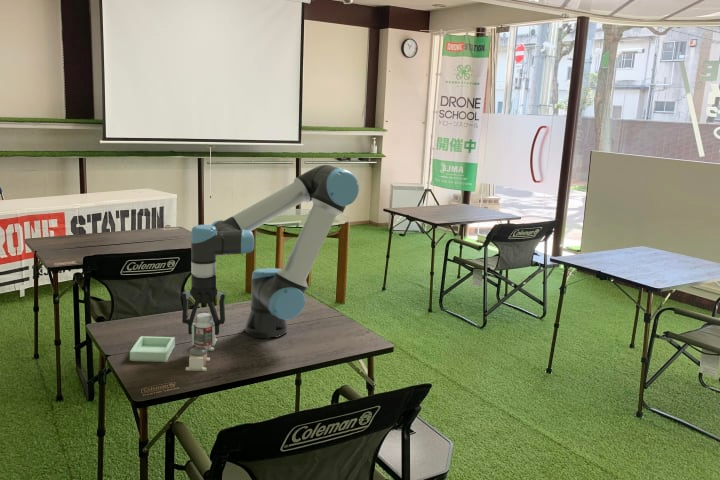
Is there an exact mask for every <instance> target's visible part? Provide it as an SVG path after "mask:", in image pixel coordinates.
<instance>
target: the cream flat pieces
mask: <svg viewBox="0 0 720 480" xmlns="http://www.w3.org/2000/svg"><path fill="white" fill-rule="evenodd" d="M217 342H218V339H217V338H216V343H217ZM204 348H206V349H207V352H208V351H209V352H210V351H211V352H212V351H213V352H214V350H215V347H214V346H213V347H211V346H210V347H204ZM188 359H189V360H188V366H186V367H185V371H195V372H197V371H198V372H207V366H205V367H203V357H190V356H189V358H188ZM210 361H211V357H207V361H206V362H210Z"/></svg>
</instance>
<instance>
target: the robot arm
mask: <svg viewBox="0 0 720 480" xmlns="http://www.w3.org/2000/svg"><path fill="white" fill-rule="evenodd" d="M359 186H360V185H359V182H358V179H357V178H356V176H355V174H354V173H352V172H351V171H349V170H347V169H344V168H343V167H342V168H341V167H337V166H333V165H329V164H324V165H318V166H316V167H314V168H312V169H310V170H307V171H306V172H304V173H302V174H301V175H298V176H297V177H295V178H294V180H293V182H292V183H290V184H288V185H286V186H284V187H282V188H281V189H279V190H278V191H275V192H274V193H272V194H270V195H269V196H266V197H265V198H262V199H261V200H259V201H257V202H256V203H254V204H252V205H251V206H249V207H247V208H244V210H242V211H239V212H238V213H236V214H234V215H233V216H230V217H228V218H226V219H224V220H221V219H219V220H215V221H214V222H213V223H211V224H197V225H194V226H193V227H192V229H191V235H190V247H191V248H190V250H191V251H190V252H191V262H190V265H191V268H190V270H191V271H190V272H191V274H192V275H191V277H190V278H191V281H190V283H191V288H190V289H189V290H188V291H183V292H182V293H181V299H182V316H181V317H182V320H181V322H182V324H187V327H188V328H187V329H188V330H187V331H188V335H191V346H196V345H195V323H196V322H194V319H195V317H196V314H197V310H198V309H199V308H198V307H199V304H205V305H207V306H208V307H209V311H210V314H211V316H212V320H213V321H212V322H213V326H212V345H214V346H216V343H217V342H216V339H217V336H218V335H219V333H220V325H223V324H225V322H226V311H225V310H226V309H225V298H226V295H227V294H226V292H220V291H218V289H217V275H216V273H217V256H226V255H227V256H228V255H243V254H244V255H246V254H249V253H252V252H253V251H254V248H255V237H254V234H253V232H252V231H253V230H255V229H257V228H259V227H262V226H263V225H264V224H266V223H268V222H269V221H271V220H273V219H276V218H277V217H279V216H281V215H282V214H285V212H287V211H289V210H291V209H293V208H295V207H297V206H298V205H300V204H302V203H303V202H306V203H309V202H312V207H311V209H310V210H309V213H308V215H307V217H306V220H305V222H304V224H303V225H302V227H301V230H300V231H299V232H300V233H299V234H298V236H297V238H296V240H295V243H294V245H293V246H292V249H291V251H290V253H289V255H288V257H287V259H286V261H285V264H284V266H283V267H282V268H278V267H277V268H275V267H273V268H272V267H271V268H269V267H267V268H265V267H264V268H259V269H255V270H253V271H252V273H251V279H250V280H251V290H250V291H251V293H250V311H249V314H248V317H247V320H246V323H245V326H244V331H245V333H246V334H247V335H248V336H251V337H253V338H257V337H258V338H257V339H270V338H269V337H276V336H279V335H282V334H284V333H286V332H287V333H288V331H287V330H288V322H287V320H291V319H293V318H296V317H298V316H299V315H301V313H302V312H303V310H304V308H305V307H306V298H305V293H306V291H307V288H308V283H307V282H308V281H307V278H308V276H309V274H310V272H311V270H312V268H313V266H314V263H315V262H316V259H317V257H318V255H319V252H320V251H321V249H322V246H323V245H324V243H325V240H326V238H327V236H328V234H329V232H330V230H331V228H332V226H333V223H334V222H335V220H336V218H337V217H338V216H339V215H342V214H343V213H344V210H346V207H347V206H349V205H351V204H352V203H354V202H355V201H356V199H357V198H358V195H359V191H360V187H359ZM190 296H191V297H192V298H193V300H194V303H193V306H192V310H191V313H190V317H189V299H190ZM216 296H217V300H219V316H218V312H217V309H216V306H215V301H214V299H215V297H216ZM287 333H286V334H287Z"/></svg>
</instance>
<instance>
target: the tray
mask: <svg viewBox="0 0 720 480" xmlns="http://www.w3.org/2000/svg"><path fill="white" fill-rule="evenodd" d="M175 347H176V337H175V336H172V337H171V336H149V335H148V336H146V335H143V336H142V335H141V336H140V337H139V338H137V340H136V342H135V344H134V345H133V347H132V348H131V350H130V351H129V361H131V362H153V363H154V362H156V363H157V362H158V363H159V362H160V363H166V362H168V361H169V360H168V359H169V358H170V356H171V354H172V352H173V350H174V349H175Z"/></svg>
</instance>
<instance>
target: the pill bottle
mask: <svg viewBox="0 0 720 480" xmlns="http://www.w3.org/2000/svg"><path fill="white" fill-rule="evenodd" d="M195 317H196V321H195V322H194V323H195V345H194V346H195V347H210V346H211V345H212V326H213V323H214V321H212V320H213V318H212V315H211V313H208V312H207V313H206V312H203V313H198V314H197V315H195Z"/></svg>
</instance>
